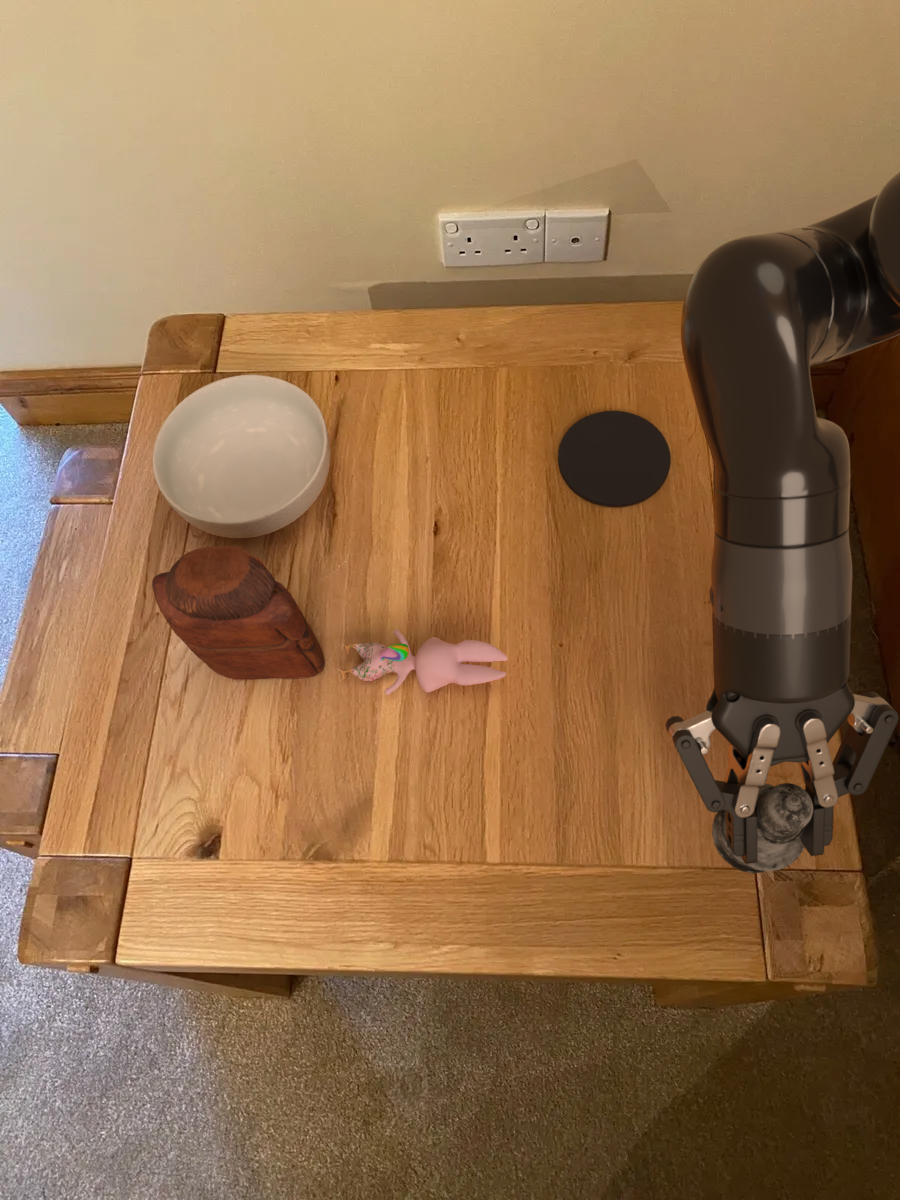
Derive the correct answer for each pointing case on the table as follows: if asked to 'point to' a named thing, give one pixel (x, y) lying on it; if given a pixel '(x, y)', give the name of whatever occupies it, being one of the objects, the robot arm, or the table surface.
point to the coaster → (614, 458)
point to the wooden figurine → (237, 616)
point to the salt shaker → (770, 828)
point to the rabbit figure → (427, 662)
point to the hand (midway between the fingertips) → (779, 850)
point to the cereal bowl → (243, 456)
